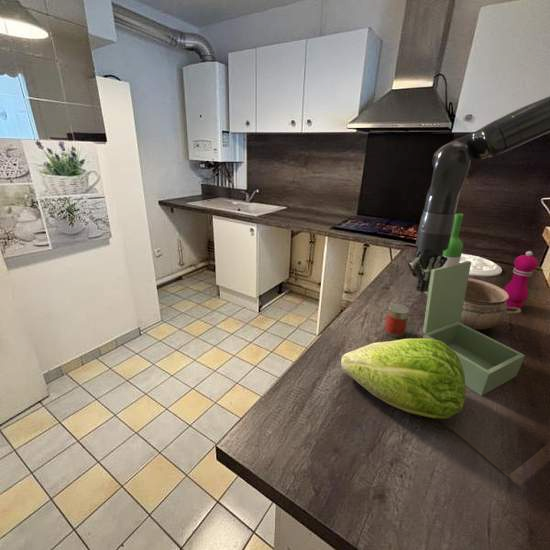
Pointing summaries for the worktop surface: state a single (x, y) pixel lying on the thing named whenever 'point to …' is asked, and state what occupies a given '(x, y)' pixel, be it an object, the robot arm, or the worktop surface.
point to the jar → (396, 320)
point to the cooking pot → (484, 305)
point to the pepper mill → (520, 280)
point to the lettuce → (410, 375)
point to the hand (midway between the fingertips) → (421, 291)
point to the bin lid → (446, 296)
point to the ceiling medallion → (481, 266)
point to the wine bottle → (454, 243)
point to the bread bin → (480, 356)
